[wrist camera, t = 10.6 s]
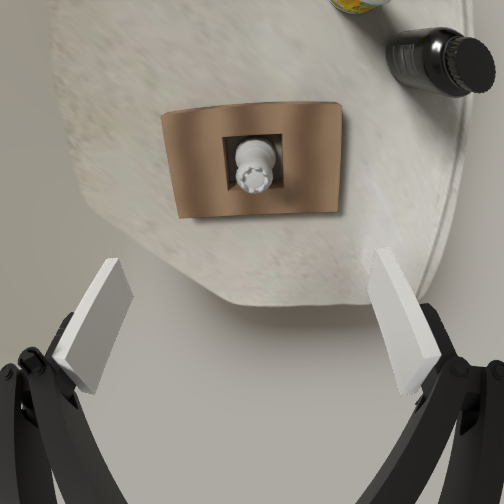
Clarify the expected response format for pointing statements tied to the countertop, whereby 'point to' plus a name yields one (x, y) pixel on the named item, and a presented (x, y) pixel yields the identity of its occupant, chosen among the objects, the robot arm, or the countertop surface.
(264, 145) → the rook chess piece
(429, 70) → the supplement bottle
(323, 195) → the walnut socket board
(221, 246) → the countertop surface
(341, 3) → the supplement bottle
